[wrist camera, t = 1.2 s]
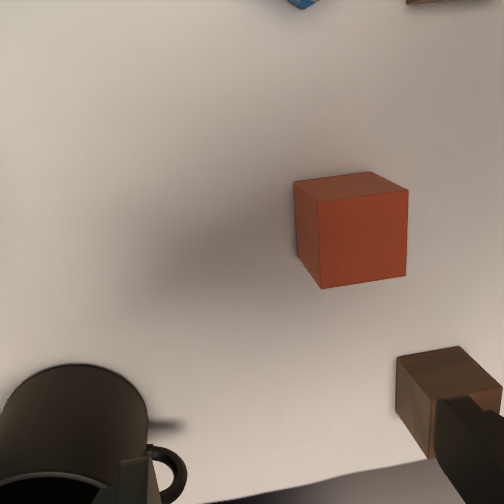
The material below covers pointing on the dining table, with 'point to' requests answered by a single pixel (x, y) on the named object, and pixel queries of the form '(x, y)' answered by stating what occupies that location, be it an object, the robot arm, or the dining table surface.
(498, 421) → the robot arm
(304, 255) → the middle block
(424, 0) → the near block
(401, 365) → the far block
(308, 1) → the ink box
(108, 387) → the mug
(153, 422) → the dining table surface
